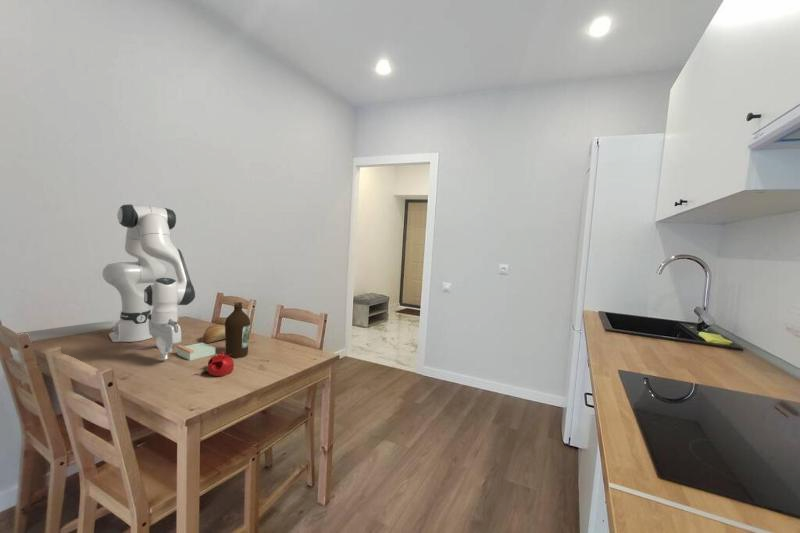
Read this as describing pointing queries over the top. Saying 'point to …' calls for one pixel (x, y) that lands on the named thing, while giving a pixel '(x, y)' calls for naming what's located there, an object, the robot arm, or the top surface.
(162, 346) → the lightbulb
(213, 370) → the pomegranate
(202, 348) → the mint green flat box
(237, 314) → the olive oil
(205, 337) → the bread roll
